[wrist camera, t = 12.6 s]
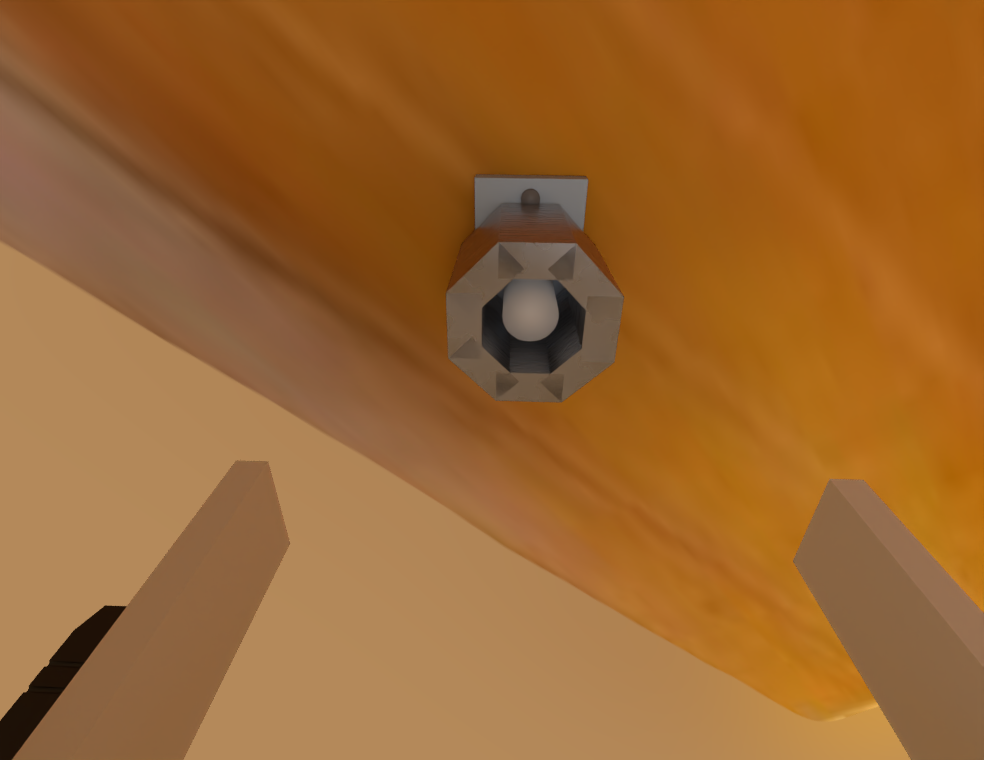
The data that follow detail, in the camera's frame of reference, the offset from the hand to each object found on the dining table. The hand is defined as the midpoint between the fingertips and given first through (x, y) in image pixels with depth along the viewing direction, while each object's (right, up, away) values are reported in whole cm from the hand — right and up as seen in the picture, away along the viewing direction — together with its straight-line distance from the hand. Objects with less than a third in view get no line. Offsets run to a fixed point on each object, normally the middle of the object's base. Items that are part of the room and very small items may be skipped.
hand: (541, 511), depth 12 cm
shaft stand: (+1, +10, +18) cm, 21 cm away
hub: (+1, +9, +16) cm, 19 cm away
